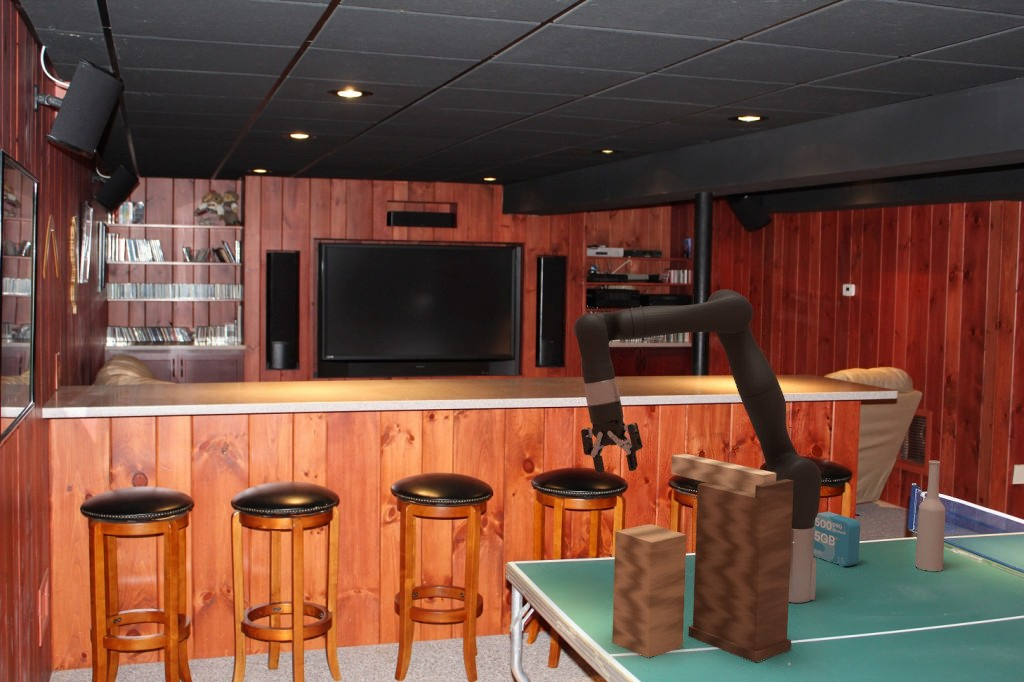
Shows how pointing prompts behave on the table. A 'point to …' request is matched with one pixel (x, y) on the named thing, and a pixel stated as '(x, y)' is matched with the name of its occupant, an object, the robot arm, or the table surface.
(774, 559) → the tall walnut stand
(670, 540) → the light wooden pillar block
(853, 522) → the data package
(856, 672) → the table surface
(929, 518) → the bottle
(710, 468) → the brown wooden block
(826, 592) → the table surface
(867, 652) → the table surface
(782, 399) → the robot arm
